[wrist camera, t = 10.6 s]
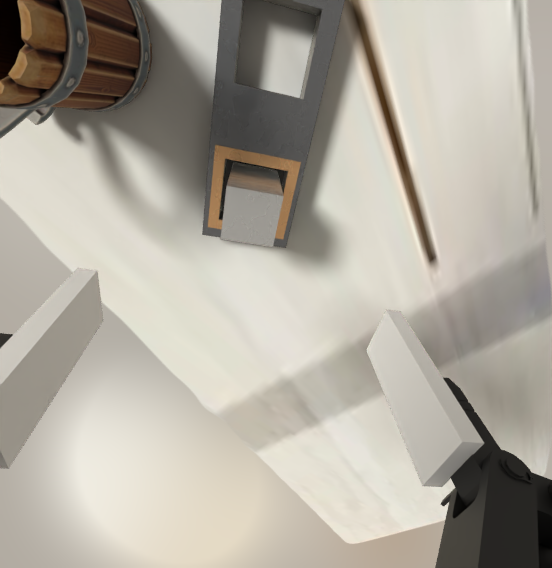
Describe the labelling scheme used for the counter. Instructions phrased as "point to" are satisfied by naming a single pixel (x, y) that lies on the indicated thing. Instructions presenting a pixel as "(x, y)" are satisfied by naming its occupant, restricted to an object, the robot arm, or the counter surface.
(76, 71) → the mug
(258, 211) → the steel peg
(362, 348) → the counter surface
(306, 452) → the counter surface
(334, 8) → the rail plate
